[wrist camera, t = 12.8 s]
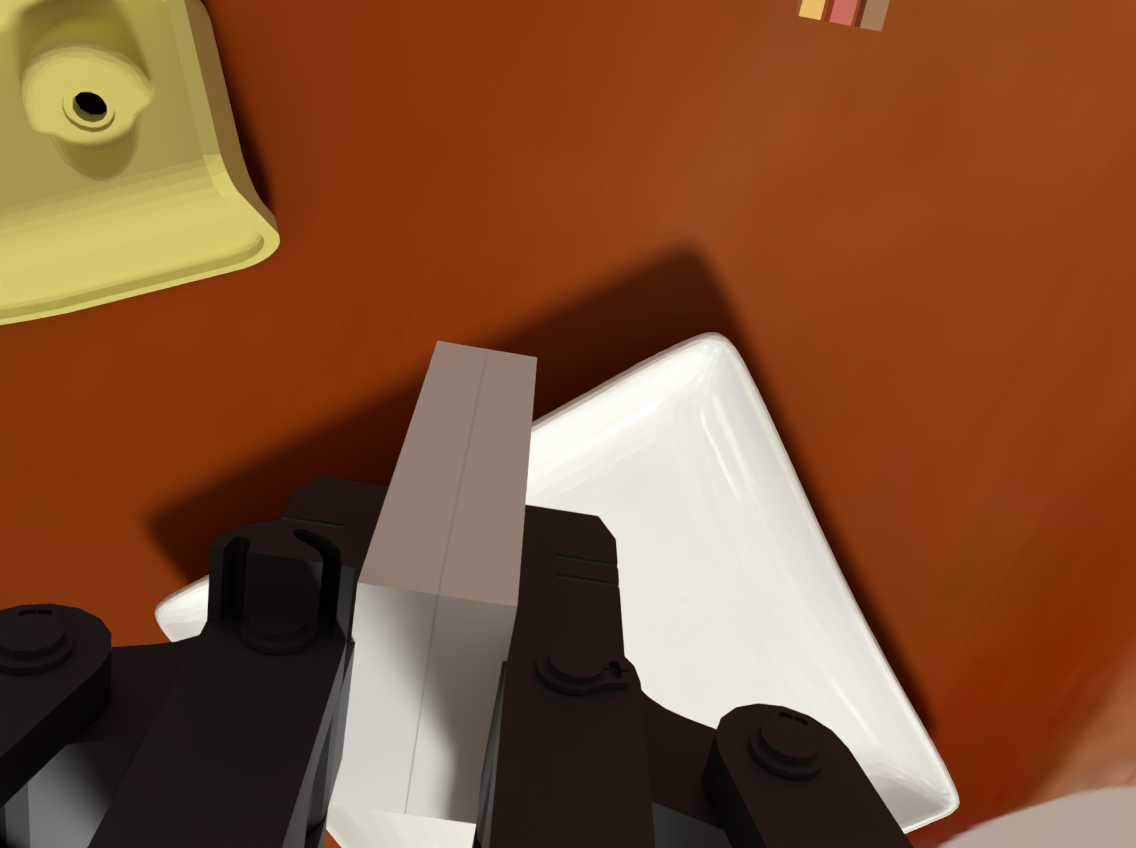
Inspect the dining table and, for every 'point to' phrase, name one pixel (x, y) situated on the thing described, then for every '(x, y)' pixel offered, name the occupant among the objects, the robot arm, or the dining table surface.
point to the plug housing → (846, 12)
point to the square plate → (700, 577)
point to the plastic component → (117, 156)
